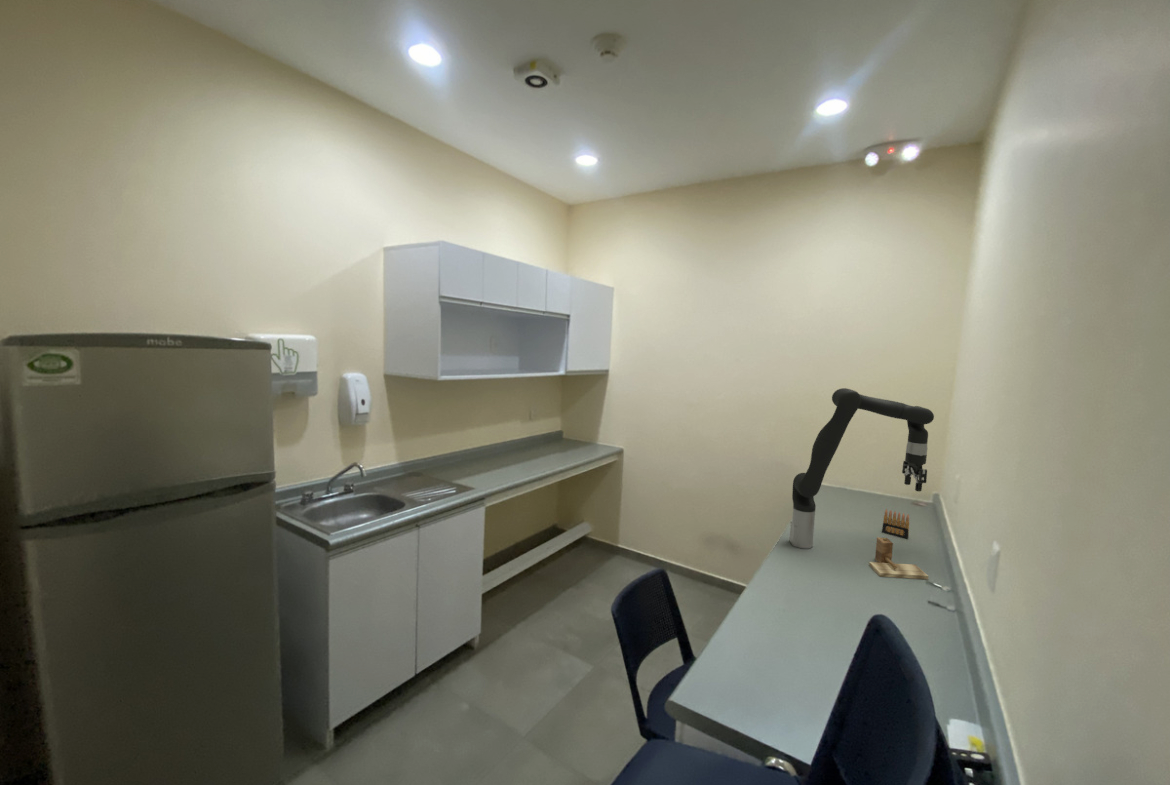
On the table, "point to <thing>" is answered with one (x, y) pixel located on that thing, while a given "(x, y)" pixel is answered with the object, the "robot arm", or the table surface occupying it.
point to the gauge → (884, 551)
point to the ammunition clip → (896, 525)
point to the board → (898, 570)
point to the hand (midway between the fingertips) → (912, 487)
